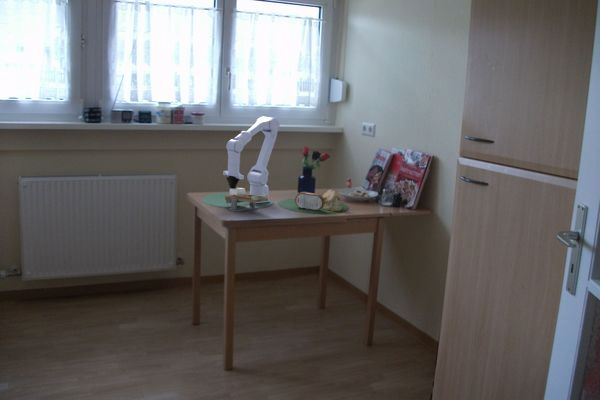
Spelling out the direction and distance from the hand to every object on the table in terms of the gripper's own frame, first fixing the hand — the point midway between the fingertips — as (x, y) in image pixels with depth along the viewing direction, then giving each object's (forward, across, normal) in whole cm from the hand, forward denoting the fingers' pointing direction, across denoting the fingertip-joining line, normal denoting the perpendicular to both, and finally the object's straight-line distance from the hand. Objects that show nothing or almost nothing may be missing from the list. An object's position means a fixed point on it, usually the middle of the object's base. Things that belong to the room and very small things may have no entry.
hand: (232, 191), depth 299 cm
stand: (+7, +9, 0) cm, 11 cm away
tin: (+7, +24, +30) cm, 39 cm away
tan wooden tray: (+4, +11, 0) cm, 12 cm away
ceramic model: (+7, +27, +43) cm, 51 cm away
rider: (+2, +4, 0) cm, 5 cm away
